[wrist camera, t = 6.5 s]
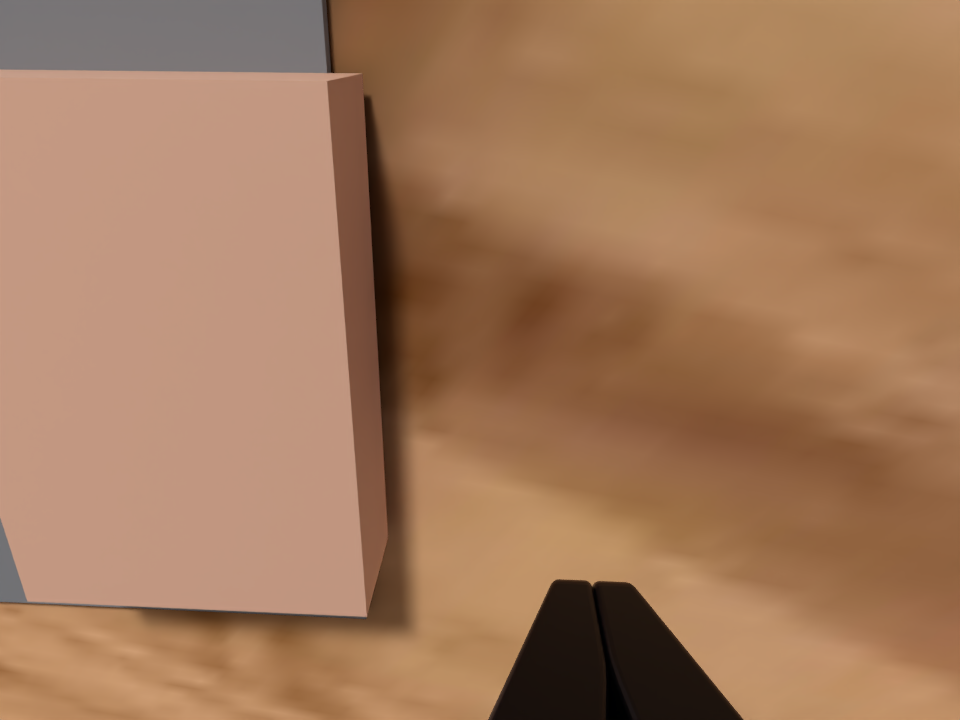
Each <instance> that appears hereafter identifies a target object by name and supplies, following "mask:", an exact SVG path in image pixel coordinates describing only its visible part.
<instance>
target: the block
mask: <svg viewBox="0 0 960 720" xmlns="http://www.w3.org/2000/svg"><path fill="white" fill-rule="evenodd" d="M0 518H1V522H2V525H3V528H4V531H5V534H6V537H7V540H8V543H9V546H10V549H11V552H12V555H13V559H14V562H15V565H16V568H17V571H18V574H19V577H20V580H21V583H22V586H23V589H24V592H25V596H26V599H27V601H28V602H50V603H72V604H94V605H116V606H138V607H160V608H182V609H204V610H226V611H248V612H270V613H292V614H314V615H336V616H358V617H367V614H368V611H369V607H370V603H371V600H372V596H373V592H374V588H375V585H376V581H377V577H378V573H379V570H380V566H381V562H382V559H383V555H384V551H385V547H386V544H387V540H388V527H387V509H386V491H385V472H384V454H383V436H382V418H381V400H380V382H379V364H378V346H377V328H376V310H375V292H374V273H373V255H372V237H371V219H370V201H369V183H368V165H367V147H366V129H365V111H364V93H363V74H362V73H275V72H182V71H89V70H0Z"/></svg>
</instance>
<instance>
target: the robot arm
mask: <svg viewBox="0 0 960 720" xmlns="http://www.w3.org/2000/svg"><path fill="white" fill-rule="evenodd" d="M488 720H743V719H742V717H741V716H740V715H739V714H738V712H737V711H736V710H735V709H734V708H733V706H732V705H731V704H730V703H729V701H728V700H727V699H726V698H725V697H724V695H723V694H722V693H721V692H720V691H719V689H718V688H717V687H716V686H715V684H714V683H713V682H712V681H711V680H710V678H709V677H708V676H707V675H706V673H705V672H704V671H703V670H702V669H701V667H700V666H699V665H698V664H697V662H696V661H695V660H694V659H693V658H692V656H691V655H690V654H689V653H688V651H687V650H686V649H685V648H684V647H683V645H682V644H681V643H680V642H679V640H678V639H677V638H676V637H675V636H674V634H673V633H672V632H671V631H670V629H669V628H668V627H667V626H666V625H665V623H664V622H663V621H662V620H661V618H660V617H659V616H658V615H657V614H656V612H655V611H654V610H653V609H652V607H651V606H650V605H649V604H648V603H647V601H646V600H645V599H644V598H643V596H642V595H641V594H640V593H639V592H638V590H637V589H636V588H635V587H634V586H633V585H631V584H630V583H626V582H606V581H598V582H596V583H594V585H593V586H591V584H590V583H589V582H588V581H583V580H560V579H559V580H555V581H554V582H553V583H552V584H551V586H550V588H549V590H548V592H547V594H546V596H545V599H544V601H543V603H542V605H541V607H540V609H539V611H538V614H537V616H536V618H535V620H534V622H533V624H532V627H531V629H530V631H529V633H528V635H527V637H526V639H525V642H524V644H523V646H522V648H521V650H520V652H519V655H518V657H517V659H516V661H515V663H514V665H513V667H512V670H511V672H510V674H509V676H508V678H507V680H506V683H505V685H504V687H503V689H502V691H501V693H500V695H499V698H498V700H497V702H496V704H495V706H494V708H493V711H492V713H491V715H490V717H489V719H488Z"/></svg>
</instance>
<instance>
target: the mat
mask: <svg viewBox="0 0 960 720" xmlns="http://www.w3.org/2000/svg"><path fill="white" fill-rule="evenodd" d="M0 70H89V71H182V72H275V73H331V63H330V49H329V35H328V20H327V6H326V0H0ZM0 602H18V603H39V604H60V605H81V606H102V607H124V608H145V609H166V610H187V611H208V612H229V613H251V614H272V615H293V616H314V617H335V618H357V619H366V618H367V617H358V616H336V615H314V614H292V613H270V612H248V611H226V610H204V609H182V608H160V607H138V606H116V605H94V604H72V603H50V602H28V601H27V599H26V596H25V592H24V589H23V586H22V583H21V580H20V577H19V574H18V571H17V568H16V565H15V562H14V559H13V555H12V552H11V549H10V546H9V543H8V540H7V537H6V534H5V531H4V528H3V525H2V522H1V518H0ZM367 615H368V614H367Z"/></svg>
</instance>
